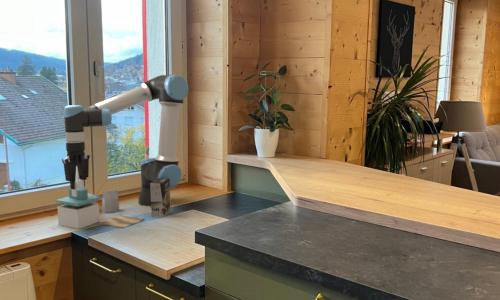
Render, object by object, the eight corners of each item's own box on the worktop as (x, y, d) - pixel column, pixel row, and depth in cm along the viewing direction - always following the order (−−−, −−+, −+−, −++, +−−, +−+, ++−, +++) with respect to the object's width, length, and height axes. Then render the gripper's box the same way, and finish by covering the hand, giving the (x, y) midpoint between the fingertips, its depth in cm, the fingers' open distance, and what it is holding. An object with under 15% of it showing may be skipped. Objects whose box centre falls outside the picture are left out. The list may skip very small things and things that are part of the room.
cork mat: (120, 215, 218) (120, 215, 218) (144, 220, 212) (144, 219, 212) (97, 223, 206) (97, 222, 206) (122, 228, 199) (122, 227, 199)
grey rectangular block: (119, 210, 227) (118, 190, 226) (105, 213, 223) (104, 192, 221) (116, 209, 230) (115, 189, 228) (102, 211, 226) (101, 191, 224)
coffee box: (164, 217, 216) (162, 183, 212) (151, 216, 217) (149, 182, 214) (171, 210, 224) (170, 178, 221) (158, 210, 226) (157, 177, 222)
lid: (79, 197, 214) (79, 184, 214) (100, 201, 208) (100, 187, 208) (56, 204, 203) (55, 190, 202) (77, 208, 197) (76, 194, 196)
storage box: (80, 217, 215) (79, 200, 214) (99, 221, 209) (98, 203, 208) (58, 224, 204) (57, 206, 203) (78, 228, 199) (77, 210, 198)
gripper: (83, 139, 211) (86, 190, 214) (53, 143, 197) (57, 198, 200) (95, 140, 207) (98, 192, 211) (66, 144, 193) (69, 200, 197)
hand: (78, 195), depth 205 cm, fingers closed on lid, 3 cm apart
